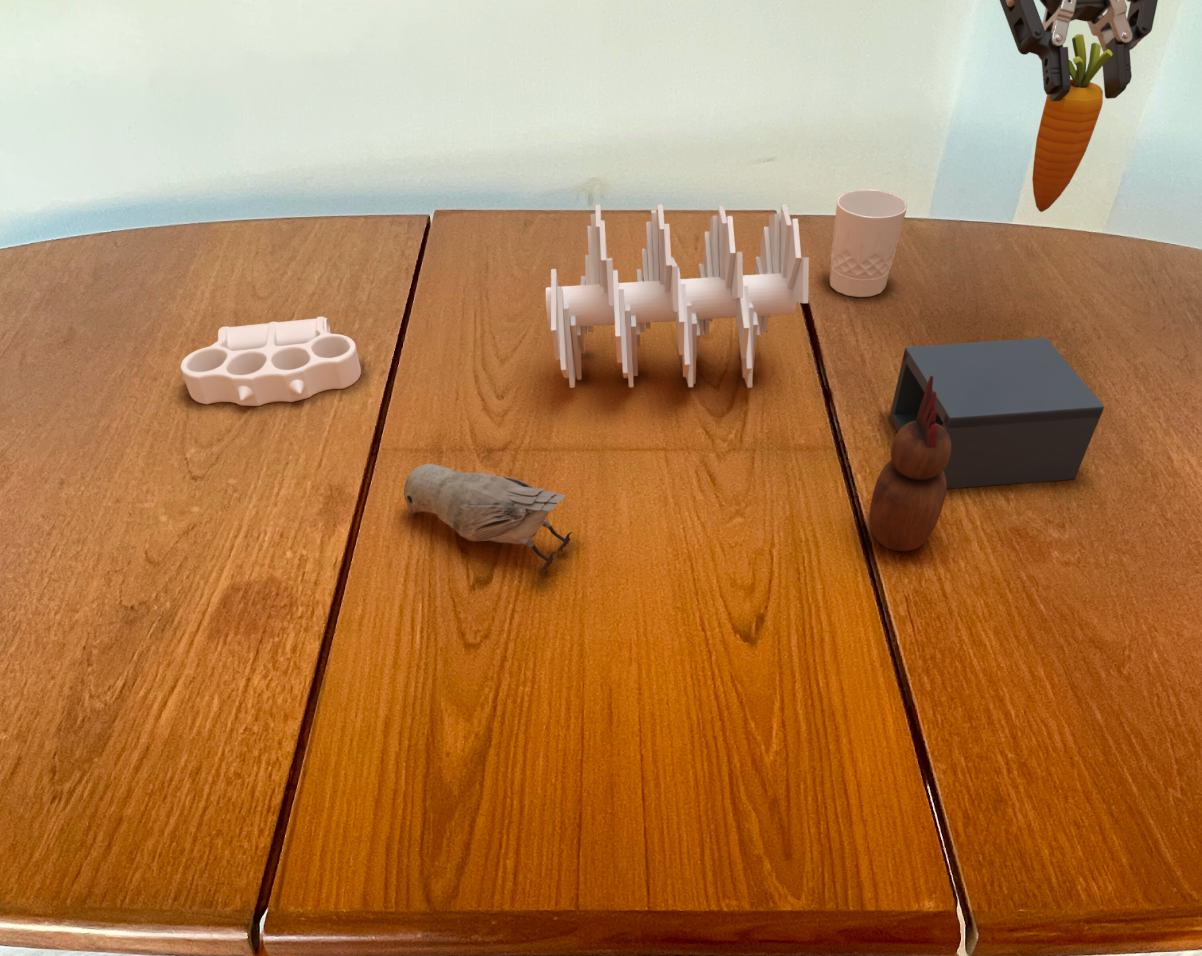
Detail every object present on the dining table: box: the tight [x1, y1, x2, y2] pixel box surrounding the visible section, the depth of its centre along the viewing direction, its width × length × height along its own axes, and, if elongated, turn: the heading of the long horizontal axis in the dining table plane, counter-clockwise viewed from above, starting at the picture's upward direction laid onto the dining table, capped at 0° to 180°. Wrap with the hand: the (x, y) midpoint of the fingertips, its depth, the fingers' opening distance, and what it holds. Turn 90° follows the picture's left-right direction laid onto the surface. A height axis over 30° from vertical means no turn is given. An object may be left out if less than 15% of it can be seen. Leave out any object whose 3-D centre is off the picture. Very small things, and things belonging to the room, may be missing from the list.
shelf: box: [888, 337, 1105, 490], centre depth 92 cm, size 14×12×8 cm
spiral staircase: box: [545, 203, 810, 389], centre depth 99 cm, size 18×18×25 cm
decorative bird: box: [403, 463, 574, 577], centre depth 84 cm, size 5×16×7 cm, turn 62°
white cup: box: [828, 188, 908, 298], centre depth 116 cm, size 8×8×10 cm
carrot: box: [1032, 33, 1112, 213], centre depth 89 cm, size 5×5×15 cm
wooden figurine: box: [869, 376, 951, 552], centre depth 81 cm, size 7×6×15 cm
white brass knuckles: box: [180, 316, 362, 407], centre depth 105 cm, size 3×18×15 cm
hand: (1088, 94), depth 85 cm, fingers closed on carrot, 4 cm apart
